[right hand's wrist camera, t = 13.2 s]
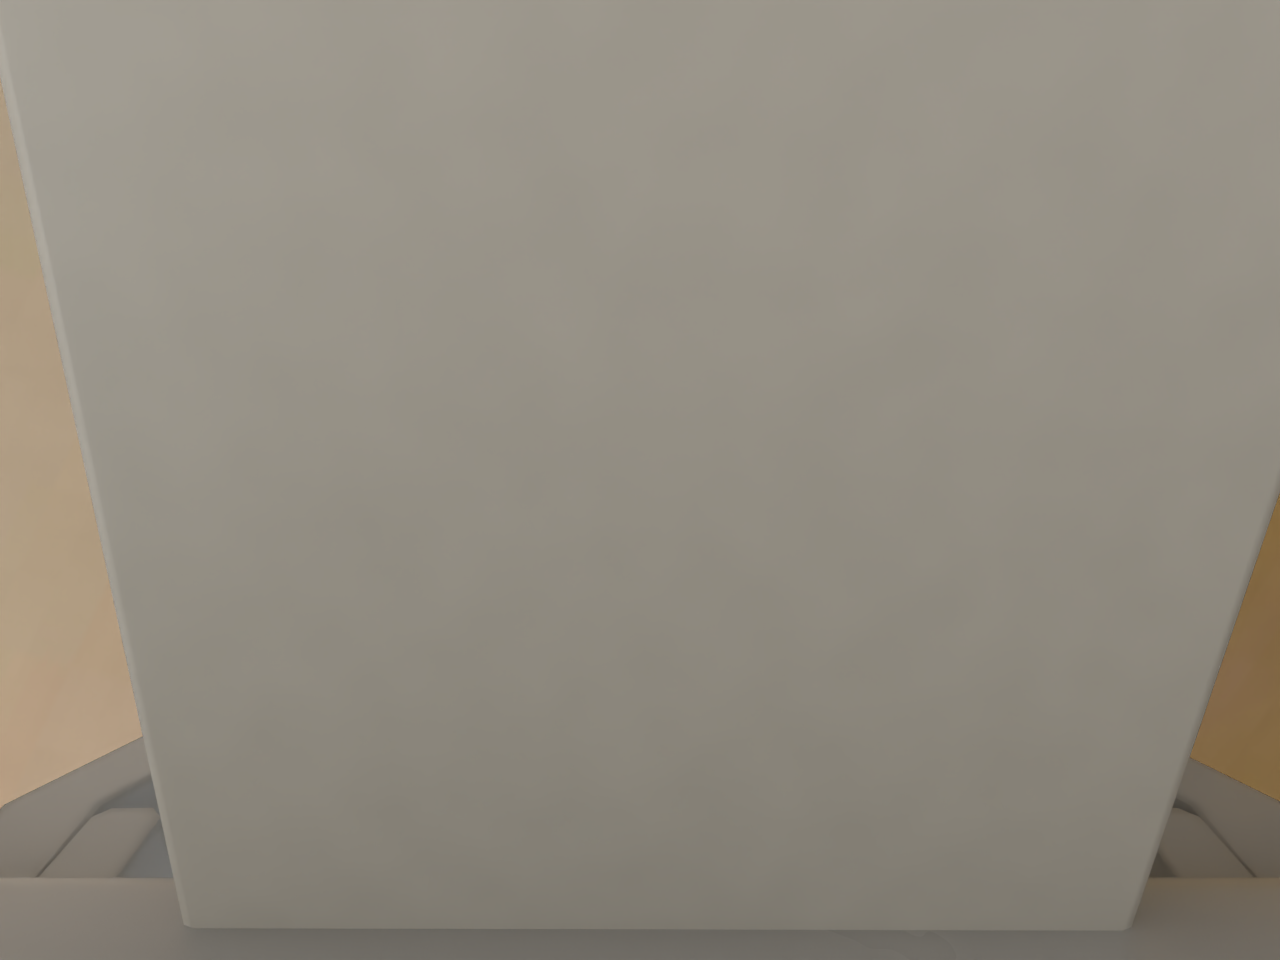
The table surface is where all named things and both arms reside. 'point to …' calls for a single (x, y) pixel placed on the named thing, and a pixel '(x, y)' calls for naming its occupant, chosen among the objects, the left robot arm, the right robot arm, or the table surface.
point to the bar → (664, 441)
